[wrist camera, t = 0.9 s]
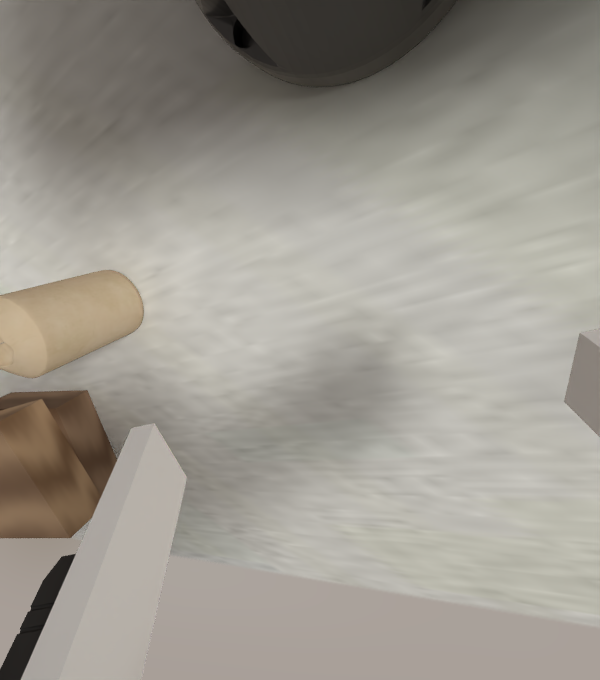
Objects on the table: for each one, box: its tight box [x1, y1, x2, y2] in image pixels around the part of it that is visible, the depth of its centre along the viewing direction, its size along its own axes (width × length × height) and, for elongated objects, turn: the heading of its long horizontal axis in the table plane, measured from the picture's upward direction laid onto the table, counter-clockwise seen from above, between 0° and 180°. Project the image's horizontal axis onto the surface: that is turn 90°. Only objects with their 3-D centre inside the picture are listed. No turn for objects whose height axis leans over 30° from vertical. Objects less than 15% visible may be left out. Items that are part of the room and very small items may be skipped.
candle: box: [0, 270, 144, 378], centre depth 26 cm, size 6×6×10 cm
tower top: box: [0, 399, 101, 538], centre depth 36 cm, size 12×12×4 cm
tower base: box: [0, 390, 117, 496], centre depth 39 cm, size 12×12×4 cm
